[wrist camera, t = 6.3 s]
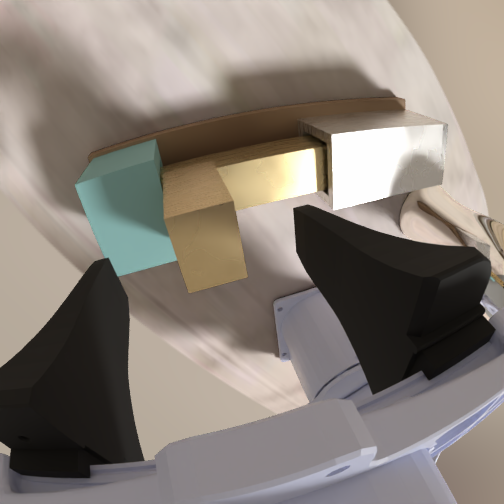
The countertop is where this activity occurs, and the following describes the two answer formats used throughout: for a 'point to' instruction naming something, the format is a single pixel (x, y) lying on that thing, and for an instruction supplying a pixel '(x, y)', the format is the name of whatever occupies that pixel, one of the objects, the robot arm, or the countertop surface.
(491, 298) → the beer glass
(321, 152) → the wooden l-shaped block
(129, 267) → the teal rectangular block
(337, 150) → the white rectangular block
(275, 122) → the board
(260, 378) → the countertop surface
